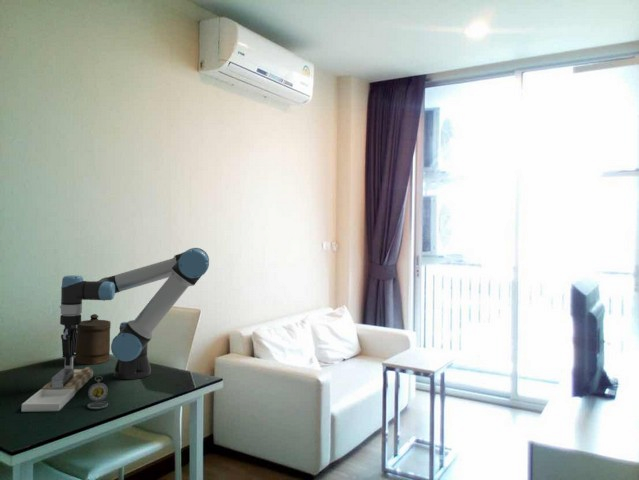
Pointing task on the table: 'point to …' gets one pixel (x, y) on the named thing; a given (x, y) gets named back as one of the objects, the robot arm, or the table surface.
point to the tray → (48, 400)
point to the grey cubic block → (59, 381)
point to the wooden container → (93, 341)
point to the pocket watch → (98, 394)
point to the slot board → (75, 379)
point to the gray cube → (70, 373)
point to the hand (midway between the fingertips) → (68, 372)
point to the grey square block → (67, 374)
